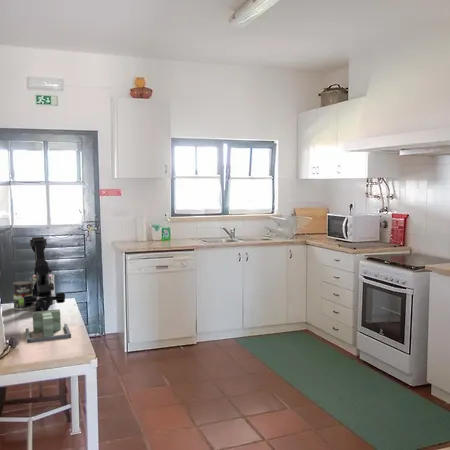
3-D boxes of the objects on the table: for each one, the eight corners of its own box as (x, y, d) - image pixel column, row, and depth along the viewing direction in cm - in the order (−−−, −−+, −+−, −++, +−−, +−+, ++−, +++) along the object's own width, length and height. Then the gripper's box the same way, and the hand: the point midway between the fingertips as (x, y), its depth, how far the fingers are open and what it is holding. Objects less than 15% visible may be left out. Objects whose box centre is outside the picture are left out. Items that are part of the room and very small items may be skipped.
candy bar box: (33, 304, 284) (31, 275, 282) (37, 302, 289) (35, 274, 287) (52, 304, 283) (50, 276, 281) (55, 302, 288) (54, 274, 286)
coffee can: (34, 308, 275) (33, 283, 274) (14, 310, 271) (12, 285, 269) (33, 304, 284) (32, 279, 283) (13, 306, 280) (12, 281, 279)
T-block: (33, 330, 236) (32, 312, 235) (60, 327, 241) (59, 309, 240) (34, 339, 223) (33, 320, 222) (63, 336, 228) (62, 316, 227)
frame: (25, 331, 235) (25, 328, 235) (66, 326, 242) (66, 323, 242) (27, 343, 219) (27, 340, 219) (71, 337, 226) (71, 334, 226)
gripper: (22, 279, 237) (24, 308, 228) (63, 276, 245) (67, 303, 236) (22, 292, 245) (24, 320, 237) (62, 288, 253) (66, 315, 244)
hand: (45, 314), depth 238 cm, fingers closed, pressing on T-block
